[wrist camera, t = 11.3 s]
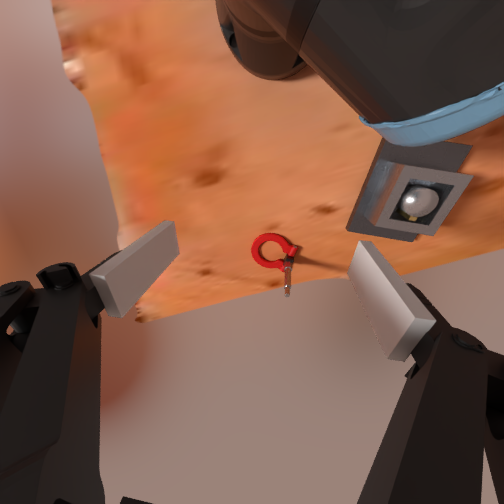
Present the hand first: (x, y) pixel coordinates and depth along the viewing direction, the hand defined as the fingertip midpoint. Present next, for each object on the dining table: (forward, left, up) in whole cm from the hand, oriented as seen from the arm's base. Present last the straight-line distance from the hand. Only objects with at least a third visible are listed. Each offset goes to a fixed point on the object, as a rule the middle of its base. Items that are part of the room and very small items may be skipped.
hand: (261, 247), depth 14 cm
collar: (-1, +21, -24) cm, 32 cm away
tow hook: (+15, +2, -26) cm, 30 cm away
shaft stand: (-1, +21, -25) cm, 33 cm away
